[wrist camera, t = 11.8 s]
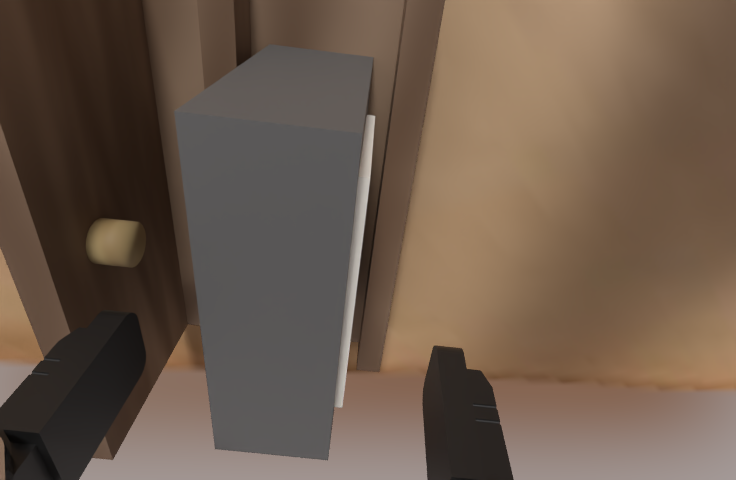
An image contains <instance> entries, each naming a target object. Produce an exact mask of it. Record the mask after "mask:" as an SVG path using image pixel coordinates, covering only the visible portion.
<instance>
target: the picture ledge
mask: <svg viewBox="0 0 736 480" xmlns="http://www.w3.org/2000/svg"><path fill="white" fill-rule="evenodd" d="M444 3H445V0H0V247H1V250H2V252H3V255H4V257H5V260H6V263H7V265H8V268H9V270H10V273H11V275H12V278H13V280H14V283H15V285H16V288H17V290H18V293H19V296H20V298H21V301H22V303H23V306H24V308H25V311H26V313H27V316H28V318H29V321H30V323H31V326H32V329H33V331H34V334H35V336H36V339H37V341H38V344H39V346H40V349H41V351H42V354H43V356H44V357H45V356H46V355H47V354H48V352H49V351H50V350H51V349H52V348H53V347H54V346H55V344H56V343H57V342H58V341H59V340H61V339H62V338H64V337H65V336H67V335H68V334H70V333H71V332H73V331H74V330H76V329H77V328H79V327H81V328H87V327H88V326H89V325H90V323H91V322H92V321H93V320H94V319H95V317H96V316H97V315H98V314H99V313H100V312H101V311H103V310H113V311H122V312H132V313H135V314H136V315H137V317H138V320H139V325H140V329H141V333H142V337H143V341H144V346H145V350H146V363H145V367H144V370H143V373H142V375H141V377H140V379H139V380H138V382H137V384H136V385H135V387H134V389H133V390H132V392H131V394H130V395H129V397H128V399H127V400H126V402H125V403H124V405H123V407H122V408H121V410H120V412H119V413H118V415H117V417H116V418H115V420H114V422H113V423H112V425H111V427H110V428H109V430H108V432H107V433H106V435H105V437H104V438H103V440H102V442H101V443H100V445H99V447H98V448H97V450H96V452H95V453H94V455H93V457H92V458H100V459H110V460H113V459H114V457H115V455H116V453H117V451H118V450H119V448H120V446H121V444H122V442H123V441H124V439H125V437H126V435H127V433H128V431H129V430H130V428H131V426H132V424H133V422H134V421H135V419H136V417H137V415H138V413H139V412H140V409H141V408H142V406H143V404H144V402H145V401H146V399H147V397H148V395H149V393H150V391H151V390H152V388H153V386H154V384H155V383H156V381H157V379H158V377H159V375H160V373H161V372H162V370H163V368H164V366H165V364H166V363H167V361H168V359H169V357H170V355H171V354H172V352H173V350H174V348H175V346H176V344H177V343H178V341H179V339H180V337H181V335H182V334H183V332H184V330H185V328H186V326H187V325H188V324H191V325H200V320H199V312H198V304H197V296H196V287H195V279H194V271H193V263H192V255H191V246H190V238H189V230H188V222H187V213H186V205H185V197H184V189H183V181H182V172H181V164H180V156H179V148H178V140H177V131H176V123H175V115H174V111H175V110H176V109H178V108H179V107H181V106H182V105H184V104H185V103H186V102H188V101H189V100H191V99H192V98H194V97H195V96H196V95H198V94H199V93H201V92H202V91H204V90H205V89H206V88H208V87H209V86H211V85H212V84H214V83H215V82H216V81H218V80H219V79H221V78H222V77H224V76H225V75H226V74H228V73H229V72H231V71H232V70H234V69H235V68H236V67H238V66H239V65H241V64H242V63H244V62H245V61H246V60H248V59H249V58H251V57H252V56H254V55H255V54H256V53H258V52H259V51H261V50H262V49H264V48H265V47H267V46H268V45H269V44H271V45H279V46H287V47H295V48H303V49H311V50H320V51H328V52H336V53H344V54H352V55H360V56H368V57H374V58H373V67H372V76H371V86H370V95H369V104H368V113H367V115H373V116H375V125H374V138H373V150H372V163H371V176H370V185H369V193H368V201H367V209H366V218H365V226H364V234H363V242H362V250H361V258H360V267H359V275H358V283H357V291H356V299H355V308H354V316H353V324H352V332H351V340H350V341H352V342H359V345H358V358H357V370H364V371H374V372H379V371H380V365H381V360H382V354H383V348H384V343H385V337H386V331H387V326H388V320H389V314H390V309H391V303H392V297H393V292H394V286H395V280H396V275H397V269H398V263H399V258H400V252H401V246H402V241H403V235H404V229H405V224H406V218H407V212H408V207H409V201H410V195H411V190H412V184H413V178H414V173H415V167H416V162H417V156H418V150H419V145H420V139H421V133H422V128H423V122H424V116H425V111H426V105H427V99H428V94H429V88H430V82H431V77H432V71H433V65H434V60H435V54H436V48H437V43H438V37H439V31H440V26H441V20H442V14H443V9H444Z"/></svg>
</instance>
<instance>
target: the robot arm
mask: <svg viewBox="0 0 736 480" xmlns="http://www.w3.org/2000/svg"><path fill="white" fill-rule="evenodd" d="M145 363H146V350H145V346H144V341H143V337H142V333H141V329H140V325H139V320H138V317H137V315H136V314H135V313H132V312H122V311H113V310H103V311H101V312H100V313H99V314H98V315H97V316H96V317H95V319H94V320H93V321H92V322H91V323H90V325H89V326H88V327H87V328H81V327H79V328H77V329H76V330H74V331H73V332H71V333H70V334H68V335H67V336H65V337H64V338H62V339H61V340H59V341H58V342H57V343H56V344H55V346H54V347H53V348H52V349H51V350H50V351H49V352H48V354H47V355H46V356H45V357H44V360H43V361H41V362H40V363H39V364H38V365H37V366H36V367H35V369H34V370H33V371H32V374H31V375H28V377H27V378H26V379H25V380H24V381H23V382H22V383H21V385H20V386H19V387H18V388H17V389H16V390H15V391H14V393H13V394H12V395H11V396H10V397H9V398H8V399H7V401H6V402H5V403H4V404H3V405H2V407H0V480H79V478H80V477H81V475H82V473H83V472H84V470H85V468H86V467H87V465H88V463H89V462H90V460H91V458H92V457H93V455H94V453H95V452H96V450H97V448H98V447H99V445H100V443H101V442H102V440H103V438H104V437H105V435H106V433H107V432H108V430H109V428H110V427H111V425H112V423H113V422H114V420H115V418H116V417H117V415H118V413H119V412H120V410H121V408H122V407H123V405H124V403H125V402H126V400H127V399H128V397H129V395H130V394H131V392H132V390H133V389H134V387H135V385H136V384H137V382H138V380H139V379H140V377H141V375H142V373H143V370H144V367H145ZM423 418H424V433H425V447H426V462H427V477H428V480H513V475H512V471H511V467H510V462H509V458H508V454H507V449H506V445H505V441H504V436H503V432H502V428H501V425H500V419H499V415H498V410H497V409H496V402H495V397H494V393H493V389H492V386H491V385H490V383H489V382H488V381H487V379H486V378H485V376H484V375H483V373H482V372H481V371H480V370H471V369H467V368H466V363H465V357H464V352H463V350H462V348H453V347H444V346H434V347H433V350H432V354H431V358H430V362H429V366H428V370H427V374H426V378H425V382H424V388H423Z"/></svg>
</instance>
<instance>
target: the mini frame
mask: <svg viewBox="0 0 736 480" xmlns="http://www.w3.org/2000/svg"><path fill="white" fill-rule="evenodd" d="M373 58H374V57H368V56H360V55H352V54H344V53H336V52H328V51H320V50H311V49H303V48H295V47H287V46H279V45H271V44H269V45H268V46H267V47H265V48H264V49H262V50H261V51H259V52H258V53H256V54H255V55H254V56H252V57H251V58H249V59H248V60H246V61H245V62H244V63H242V64H241V65H239V66H238V67H236V68H235V69H234V70H232V71H231V72H229V73H228V74H226V75H225V76H224V77H222V78H221V79H219V80H218V81H216V82H215V83H214V84H212V85H211V86H209V87H208V88H206V89H205V90H204V91H202V92H201V93H199V94H198V95H196V96H195V97H194V98H192V99H191V100H189V101H188V102H186V103H185V104H184V105H182V106H181V107H179V108H178V109H176V110H175V111H174V115H175V123H176V131H177V140H178V148H179V156H180V164H181V172H182V181H183V189H184V197H185V205H186V213H187V222H188V230H189V238H190V246H191V255H192V263H193V271H194V279H195V287H196V296H197V304H198V312H199V320H200V328H201V337H202V345H203V353H204V361H205V370H206V378H207V386H208V394H209V402H210V410H211V419H212V427H213V435H214V443H215V449H221V450H231V451H241V452H252V453H262V454H271V455H281V456H291V457H301V458H311V459H321V460H328V456H329V455H328V454H329V447H330V438H331V430H332V422H333V413H334V407H340V408H341V407H342V406H343V398H344V389H345V381H346V373H347V365H348V357H349V349H350V340H351V332H352V324H353V316H354V308H355V299H356V291H357V283H358V275H359V267H360V258H361V250H362V242H363V234H364V226H365V218H366V209H367V201H368V193H369V185H370V176H371V163H372V150H373V138H374V125H375V116H373V115H367V113H368V104H369V95H370V86H371V76H372V67H373Z"/></svg>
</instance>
